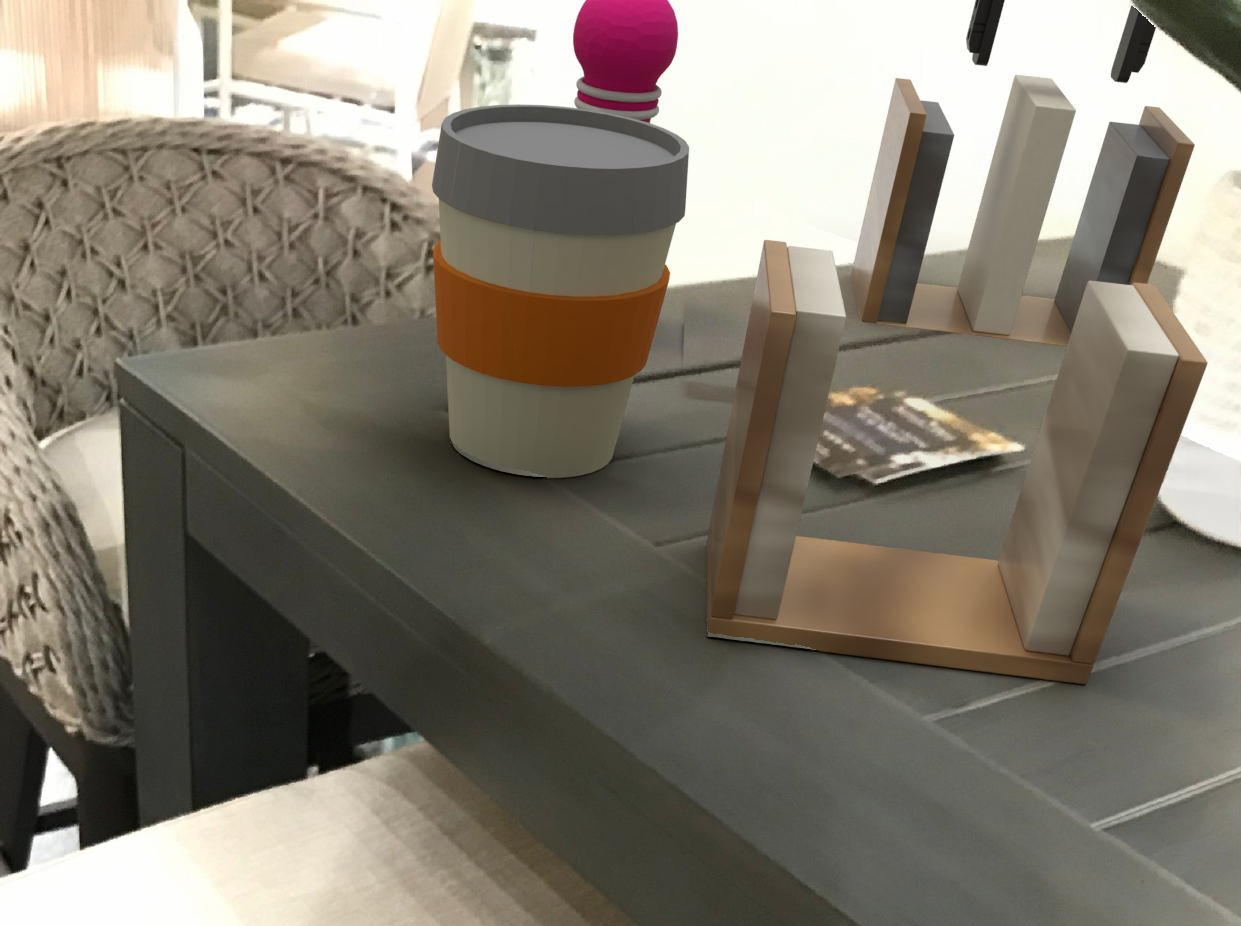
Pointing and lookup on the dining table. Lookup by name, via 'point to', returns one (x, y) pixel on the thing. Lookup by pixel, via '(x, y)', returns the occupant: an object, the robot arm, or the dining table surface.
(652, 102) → the pepper mill
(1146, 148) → the grey rack
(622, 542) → the dining table surface
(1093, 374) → the white rack
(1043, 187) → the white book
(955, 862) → the dining table surface
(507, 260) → the reusable coffee cup
